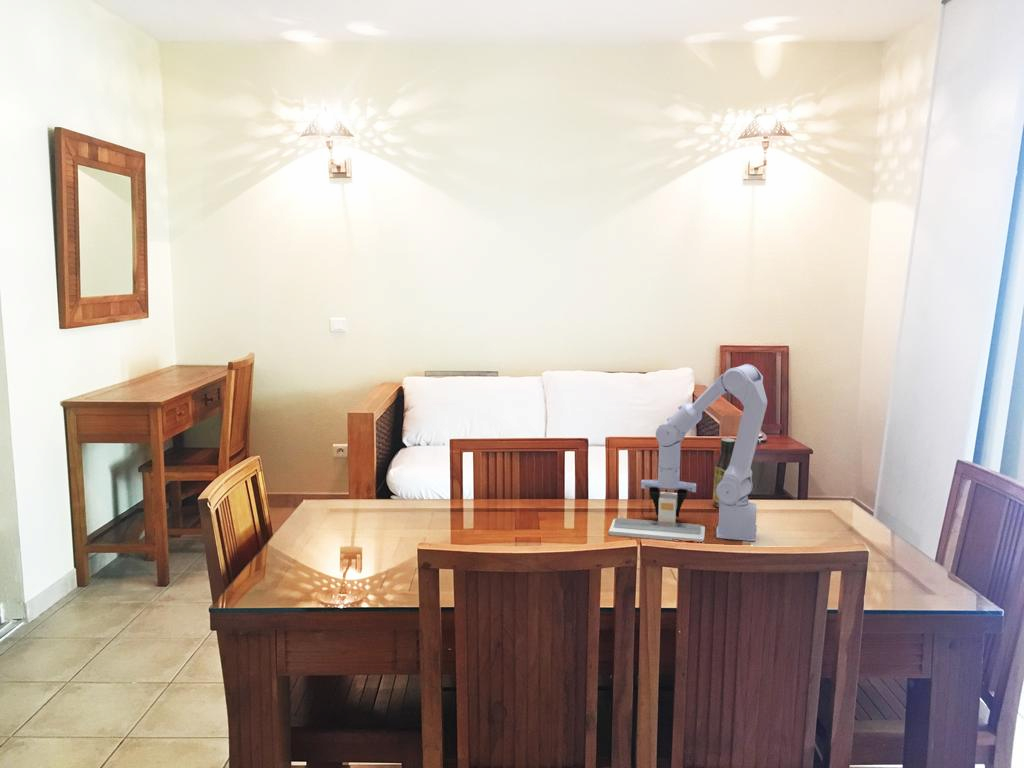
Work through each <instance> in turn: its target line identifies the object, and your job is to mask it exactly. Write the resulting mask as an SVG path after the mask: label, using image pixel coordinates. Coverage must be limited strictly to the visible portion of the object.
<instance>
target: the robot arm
mask: <svg viewBox="0 0 1024 768" xmlns="http://www.w3.org/2000/svg"><path fill="white" fill-rule="evenodd" d="M763 383H764V376H763V374H761V372H760V371H759V369H758V368H757V367H756V366H754V365H752V364H749V363H744V364H742V365H739V366H737V367H731V368H728V369H727V370H726V371H724V373H723V374H721V375H719V376H718V377H717V378H716V379H715V380H714V381H713V382H712V383H711V384H710V385H709V386H708V387H707V388H706V389H705V390H704V391H703V392H702V394H701V395H699V397H697V399H696V400H695V401H694V402H693V403H688V402H687V403H685V404H680V405H679V406H678V407H677V408H678V411H677V412H676V413H674V414H673V415H672V416H670V417H668V418H667V419H666V420H667V423H662V424H659V426H658V428H657V429H656V430H655V438H656V441H657V443H658V462H657V463H658V465H657V466H658V468H657V470H658V471H657V472H658V473H657V479H641V481H640V482H641V483H640V485H641V486H640V489H649V495H650V498H651V500H652V502H653V505H654V510H655V515H656V517H658V510H659V497H660V493H661V491H660V490H668V491H669V490H671V491H677V492H676V493H677V510H676V517H677V518H679V517H680V511H681V508H682V505H683V503H684V501H685V499H686V497H687V495H688V492H691V493H696V492H697V483H695V482H686V481H681V480H680V476H681V475H680V474H681V469H680V468H681V447H682V446H681V442H682V441H683V440H684V438H685V437H686V434H687V433H689V431H691V429H693V428H694V427H695V426H696V425H697V424H699V422H700V421H701V420H702V419H703V412H704V411H705V410H706V409H708V408H709V407H710V406H711V405H712V404H713V403H714V402H716V400H718V399H719V398H720V397H722V395H724V394H728V393H730V394H731V395H733V396H734V397H735V398H736V399H738V400H739V402H740V403H741V405H742V406H743V411H742V415H741V418H740V422H739V426H738V431H737V434H736V438H735V440H736V441H735V445H734V449H733V453H732V457H731V461H730V465H729V466H728V468H727V470H726V471H725V473H724V476H723V479H722V480H721V482H720V483H719V484H718V485H717V488H716V493H717V496H718V498H719V499H720V501H719V507H718V524H717V525H718V526H716V539H723V540H724V539H725V540H735V541H747V542H755V541H756V533H757V530H758V529H757V528H758V527H757V503H756V502H751V501H749V497H748V495H749V494H751V492H752V490H753V487H754V486H753V485H754V484H753V481H752V479H753V478H752V476H753V471H752V469H751V467H752V463H753V459H754V455H755V453H756V449H757V445H758V441H759V438H760V434H761V430H762V425H763V421H764V418H765V416H766V411H767V406H768V398H767V395H766V390H765V387H764V384H763Z"/></svg>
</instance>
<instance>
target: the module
mask: <svg viewBox="0 0 1024 768" xmlns="http://www.w3.org/2000/svg"><path fill="white" fill-rule="evenodd" d="M676 510H677V492H667V491H660V492H659V510H658V516H657V519H658V520H657V521H663V522H675V523H676V522H677V521H676V520H677V518H678V517H676Z"/></svg>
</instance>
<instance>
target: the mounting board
mask: <svg viewBox="0 0 1024 768" xmlns="http://www.w3.org/2000/svg"><path fill="white" fill-rule="evenodd" d="M615 519H616V518H614V519H613V520H612V523H611V525H610V528H609V530H608V536H616V537H617V536H618V537H630V538H631V537H632V538H641V539H652V540H662V541H665V540H666V541H676V542H680V541H679V540H695V541H704V542H702V543H700V542H699V543H700V544H705V531H706V527H705V526H704V525H701V533H700V535H699V534H687V533H675V532H663V531H651V530H639V529H628V528H616V527H614V522H615ZM672 539H679V540H672ZM699 543H698V544H699Z"/></svg>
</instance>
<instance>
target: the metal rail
mask: <svg viewBox="0 0 1024 768" xmlns="http://www.w3.org/2000/svg"><path fill="white" fill-rule="evenodd" d="M614 519H615V522H614V527H616V528H628V529H639V530H651V531H663V532H675V533H687V534H699V535H700V533H701V526H702V525H701V524H700V523H699V524H697V523H688V522H687V523H685V522H676V521H675V522H663V521H658V520H650V519H638V518H637V519H635V518H624V517H615V518H614Z"/></svg>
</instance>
